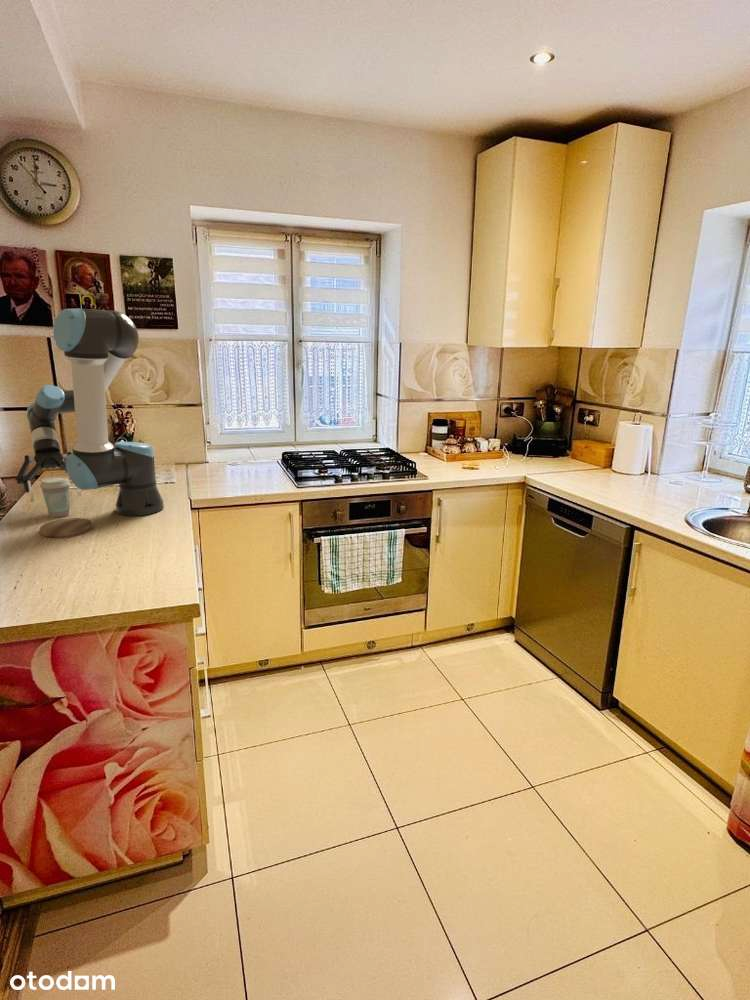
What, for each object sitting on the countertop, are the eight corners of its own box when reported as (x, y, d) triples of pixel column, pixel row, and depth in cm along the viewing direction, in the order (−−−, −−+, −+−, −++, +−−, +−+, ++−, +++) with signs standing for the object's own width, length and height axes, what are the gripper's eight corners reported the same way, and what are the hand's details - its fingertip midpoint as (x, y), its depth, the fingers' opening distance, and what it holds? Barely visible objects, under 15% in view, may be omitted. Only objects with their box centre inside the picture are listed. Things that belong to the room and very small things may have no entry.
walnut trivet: (99, 522, 177) (99, 518, 176) (80, 537, 163) (79, 533, 163) (54, 522, 176) (53, 518, 175) (31, 538, 162) (30, 533, 162)
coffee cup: (44, 520, 178) (38, 483, 174) (45, 512, 185) (40, 477, 182) (74, 516, 182) (69, 481, 178) (74, 509, 189) (69, 475, 185)
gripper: (86, 447, 198) (98, 497, 190) (3, 453, 185) (12, 508, 177) (86, 434, 192) (98, 486, 185) (1, 440, 179) (10, 496, 171)
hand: (56, 497), depth 181 cm, fingers open, 13 cm apart
